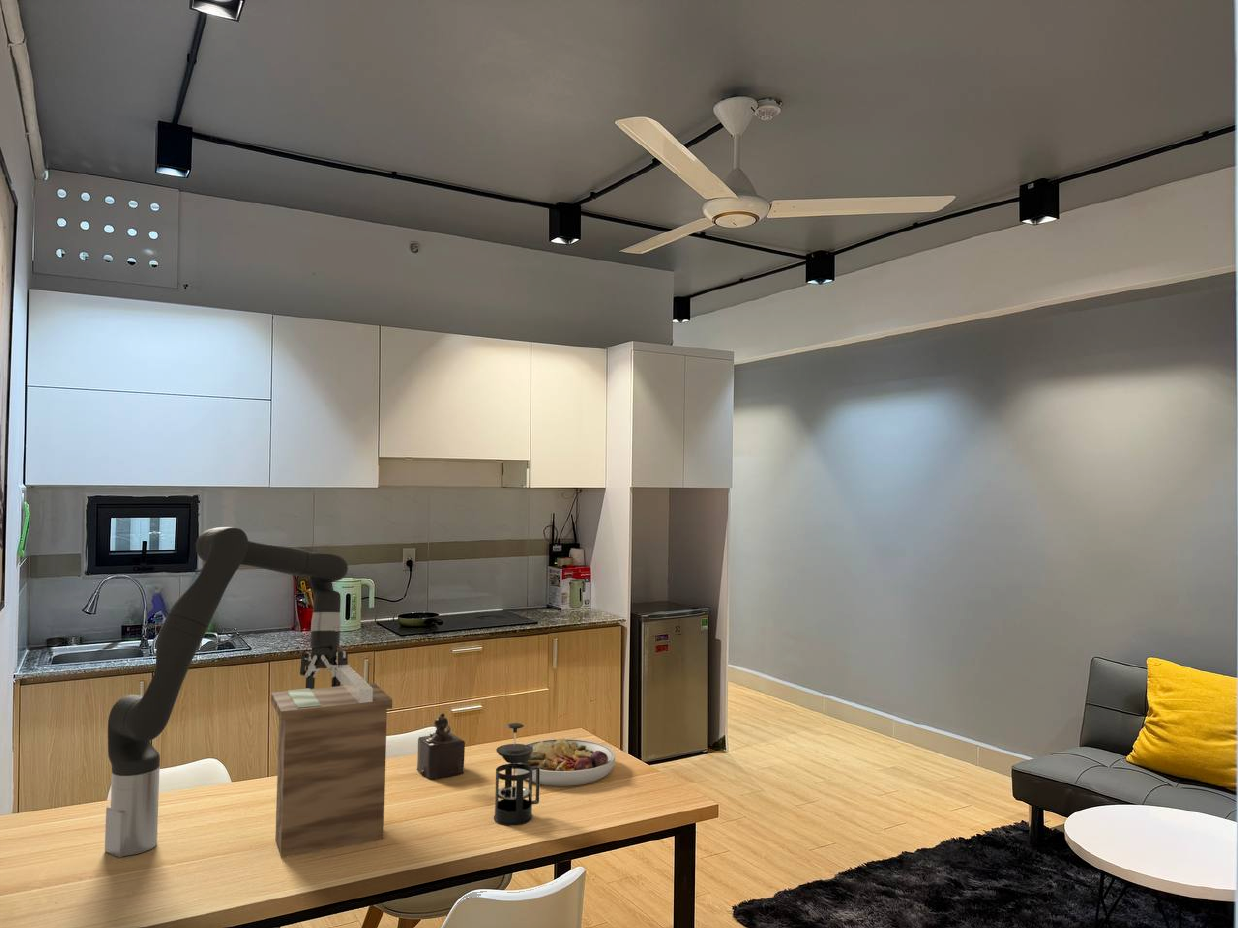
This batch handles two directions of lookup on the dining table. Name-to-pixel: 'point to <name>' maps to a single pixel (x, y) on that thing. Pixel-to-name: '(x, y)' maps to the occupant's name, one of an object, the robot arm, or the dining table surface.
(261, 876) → the dining table surface
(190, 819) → the dining table surface
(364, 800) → the upright wood-grain block
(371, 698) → the white rectangular bar
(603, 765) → the bowl
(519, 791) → the french press
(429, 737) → the manual coffee grinder
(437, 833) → the dining table surface
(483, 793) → the dining table surface
